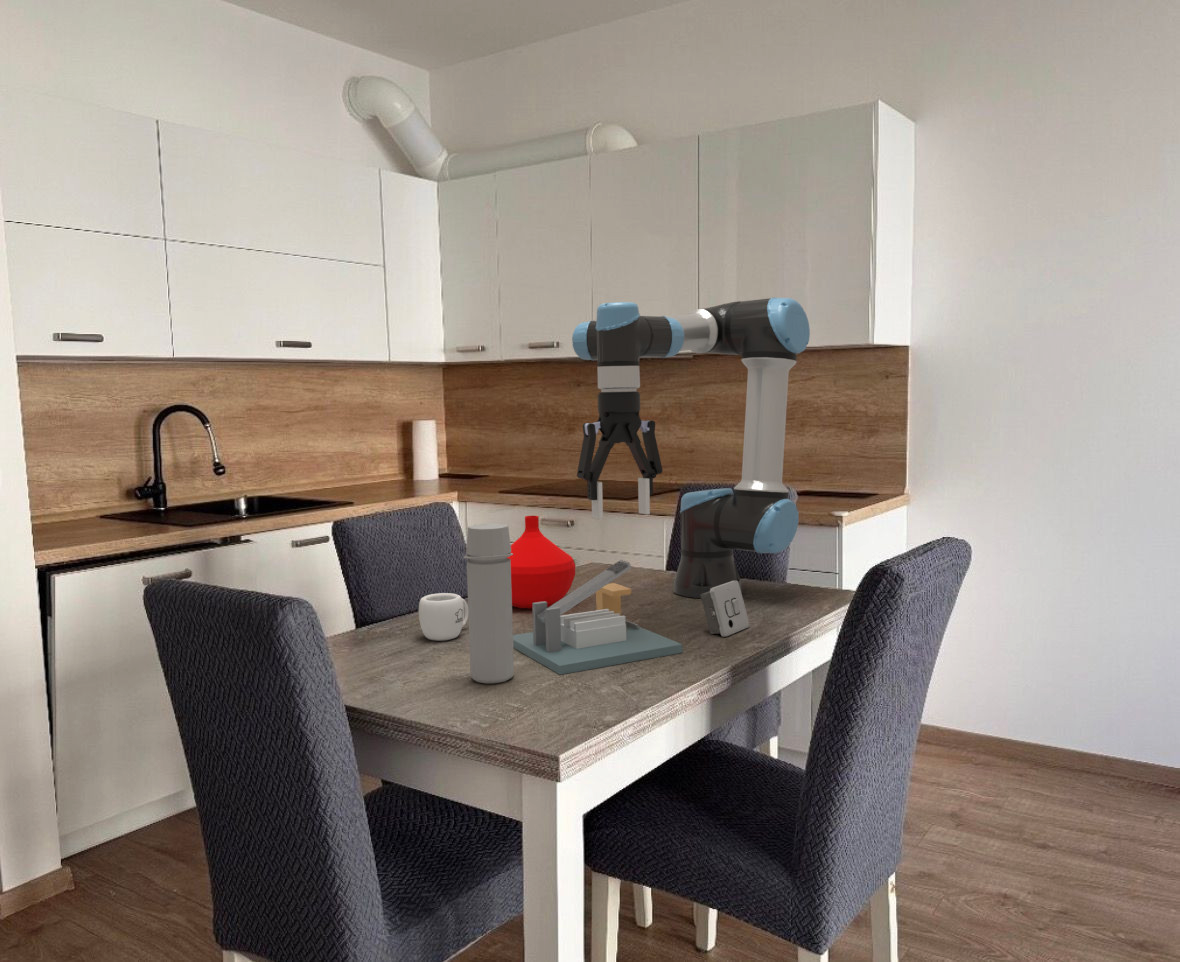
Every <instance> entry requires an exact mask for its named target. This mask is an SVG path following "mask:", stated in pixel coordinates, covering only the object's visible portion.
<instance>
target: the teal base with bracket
mask: <svg viewBox="0 0 1180 962" xmlns="http://www.w3.org/2000/svg"><path fill="white" fill-rule="evenodd" d="M532 607H533V609H532V631H531V632H525V633H524V632H523V633H517V634H513V649H515V650H517V651H518V652H520V653H522V655H523V654H524V655H525V656H527V657H528V658H530V659H532V660H533V661H536V662H537V663H539V664H540V665H543V667H545V668H548V669H550V670H551V671H553V672H554V673H556V674H558V675H566V674H571V673H577V672H582V671H588V670H594V669H600V668H604V667H610V666H616V665H620V664H627V663H634V662H639V661H643V660H650V659H655V658H660V657H666V656H671V655H677V654H678V655H679V654H682V653H683V644H682V643H680V642H677V641H675V640H673V639H670V638H669V637H665V636H664V635H661V634H659V633H656V632H653V631H651V630H648V629H646V628H643V627H641V626H640V624H637V623H635V622H633V621H630V620H629V619H626V615H623V614H622V615H621V616H620V614H619V613H616V614H614V611H609V609H603V610H590V611H585V612H577V613H571V614H562V615H560V608H559V607H554V608H548V607H547V602H545V601H543V602H536V603H532ZM544 610H545V623H543V622H541V621H539V619H538V617H537V615H538V614H539V613H541V612H542V611H544Z"/></svg>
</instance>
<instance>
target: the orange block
mask: <svg viewBox="0 0 1180 962" xmlns="http://www.w3.org/2000/svg"><path fill="white" fill-rule="evenodd" d="M626 595H627V596H628V595H632V589H631V588H630V587H627V586H624V585H621V584H618V583H615V582H610V583H608V584H607V585H605V586H604V587H602V588H601V589H599V590H598V591H596V592H595V596H596V597H595V601H596V606H595V607H596V610H603V609H609V611H614V614H616V613H619V614H620V616H622V602H621V600H622V598H621V596H626ZM596 610H595V611H596Z"/></svg>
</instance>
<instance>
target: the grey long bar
mask: <svg viewBox="0 0 1180 962" xmlns="http://www.w3.org/2000/svg"><path fill="white" fill-rule="evenodd" d="M631 569H632V565H631V563H630V561H626V560H623V559H620V560H618V561H617V562H615V563H614V564H613V565H611V566H609V567H608V568H606V569H604V570H603V571H602V572H600V573H598V574H597V575H595V576H594V577H592V578H591V579H590V580H587V582H585V583H583V584H582V585H581V586H579V587H577V588H576V589H574V590H573V591H571V592H570V593H567V595H565V596H564V598H562V599H561V600H559V601H558V602H556V603H554V604H553V605H551V606H550V607H547V608H554V607H559V608H560V616H562V615H564V613H565V614H566V612H568V611H569V610H571V609H573V608H574V607H575V606H577V605H578V604H580V603H581V602H582V601H584V600H586V599H588V597H591V596H592V595H593V594H596V591H598V590H599V589H601V588H602V587H604V586H605V585H607V584H610V583H612V582H613V581H614V580H616V579H617V578H619V577H621V576H622V575H623V574H625V573H626V572H628V571H629V570H631ZM537 617H538V619H539V621H541V622H543V623H545V610H544V611H542V612H541V613H539V614H538V615H537Z"/></svg>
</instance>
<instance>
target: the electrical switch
mask: <svg viewBox="0 0 1180 962" xmlns="http://www.w3.org/2000/svg"><path fill="white" fill-rule="evenodd" d="M700 596H701V598H700V599H701V604H702V607H703V611H704V615H705V619H706V622H707V626H708V630H709V634H710V635H714V634H715V635H717V634H718V635H719V634H720V635H721V637H722V638H725V637H728V636H732V635H734V634H735V633H739V632H740V631H743V630H745V629H747V628H749V627H750V621H749V617H748V613H747V609H746V606H745V602H744V598H743V594H742V589H741V590H740V586H739V583H738V581H731V582H728V583H725V584H722V585H719V586H716V587H713V588H711V589H710V591H709V592H706V593H703V594H700Z"/></svg>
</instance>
